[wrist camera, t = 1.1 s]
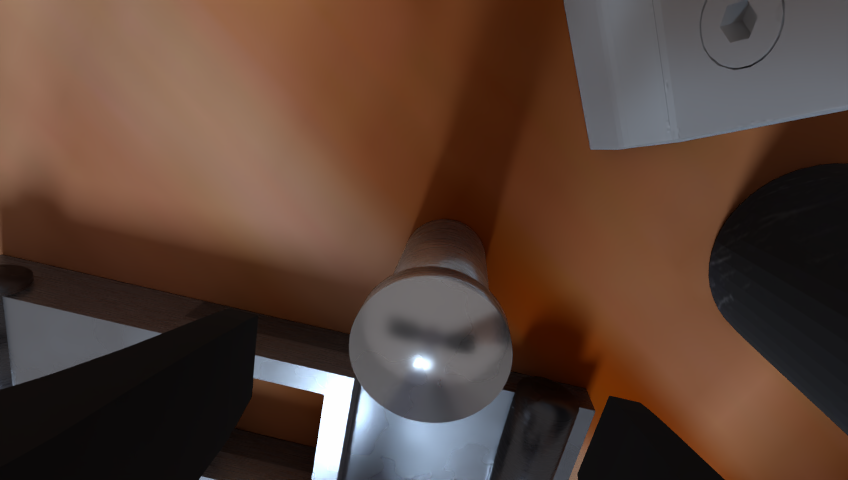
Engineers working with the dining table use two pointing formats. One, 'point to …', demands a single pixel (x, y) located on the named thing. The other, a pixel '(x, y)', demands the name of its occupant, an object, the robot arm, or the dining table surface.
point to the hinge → (704, 66)
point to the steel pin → (433, 330)
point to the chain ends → (300, 368)
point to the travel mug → (792, 280)
